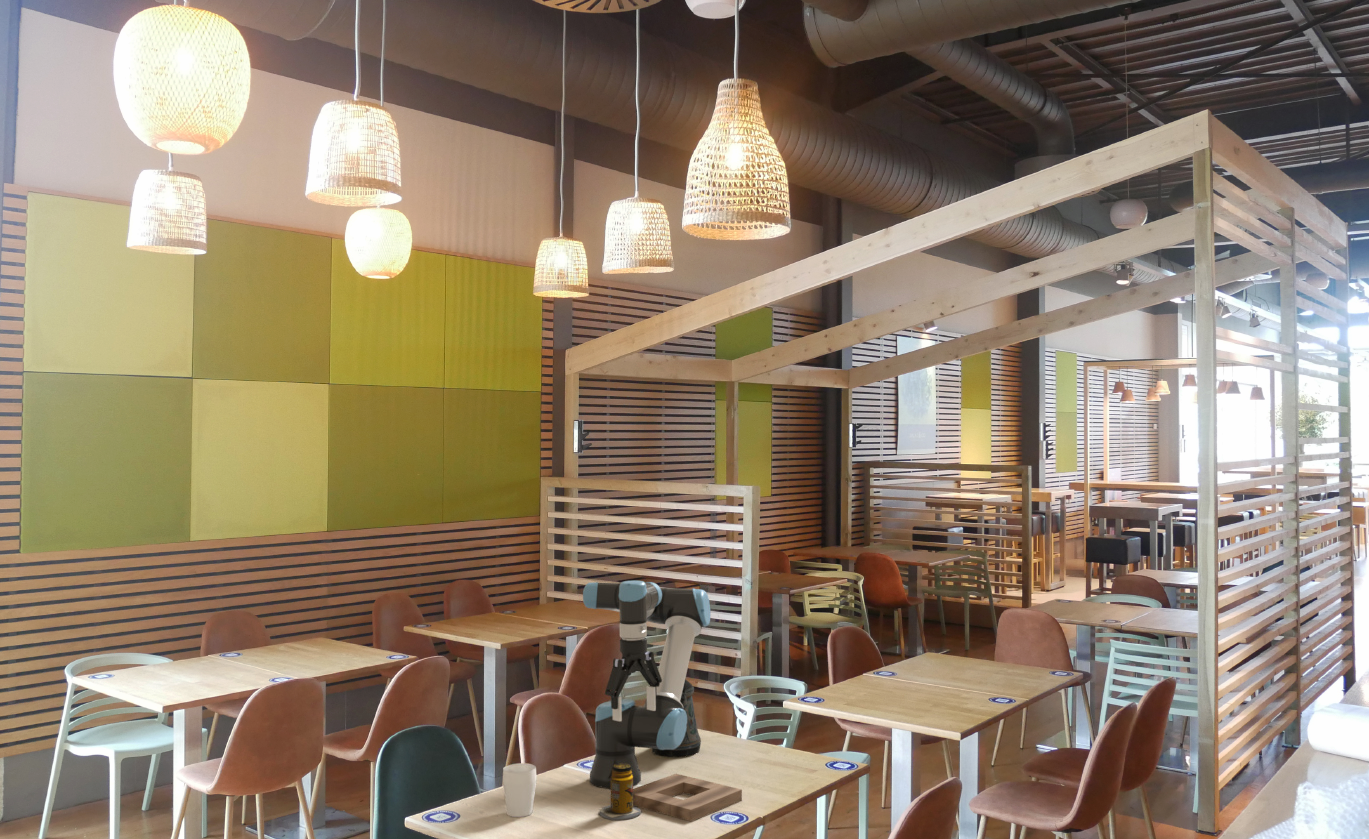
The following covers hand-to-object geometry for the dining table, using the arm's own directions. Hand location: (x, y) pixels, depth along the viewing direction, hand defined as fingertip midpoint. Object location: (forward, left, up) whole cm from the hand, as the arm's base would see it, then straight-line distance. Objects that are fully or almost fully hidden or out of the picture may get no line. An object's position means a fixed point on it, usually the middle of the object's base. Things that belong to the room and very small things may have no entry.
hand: (634, 715), depth 282 cm
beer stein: (-25, +49, -25) cm, 60 cm away
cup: (-19, -24, -25) cm, 40 cm away
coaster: (+2, -7, -24) cm, 26 cm away
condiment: (+2, -8, -24) cm, 25 cm away
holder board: (+9, +11, -24) cm, 28 cm away
